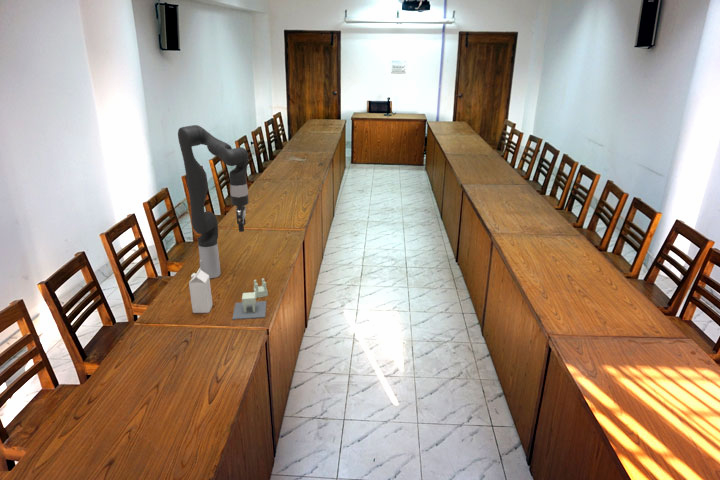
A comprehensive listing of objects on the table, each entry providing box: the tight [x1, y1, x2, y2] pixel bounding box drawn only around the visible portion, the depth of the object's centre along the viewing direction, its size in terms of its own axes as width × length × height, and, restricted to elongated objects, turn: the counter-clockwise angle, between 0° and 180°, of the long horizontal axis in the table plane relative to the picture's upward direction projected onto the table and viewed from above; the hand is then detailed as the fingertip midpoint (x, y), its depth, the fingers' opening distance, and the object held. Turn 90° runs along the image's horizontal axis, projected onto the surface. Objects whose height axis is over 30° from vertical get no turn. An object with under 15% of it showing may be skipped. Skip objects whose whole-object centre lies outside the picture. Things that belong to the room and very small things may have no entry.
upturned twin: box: [253, 278, 269, 299], centre depth 239 cm, size 6×6×7 cm
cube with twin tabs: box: [241, 291, 257, 313], centre depth 225 cm, size 6×6×7 cm
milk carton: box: [188, 267, 213, 314], centre depth 224 cm, size 7×7×19 cm
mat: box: [232, 300, 267, 321], centre depth 226 cm, size 14×14×1 cm
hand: (242, 228), depth 229 cm, fingers open, 8 cm apart
